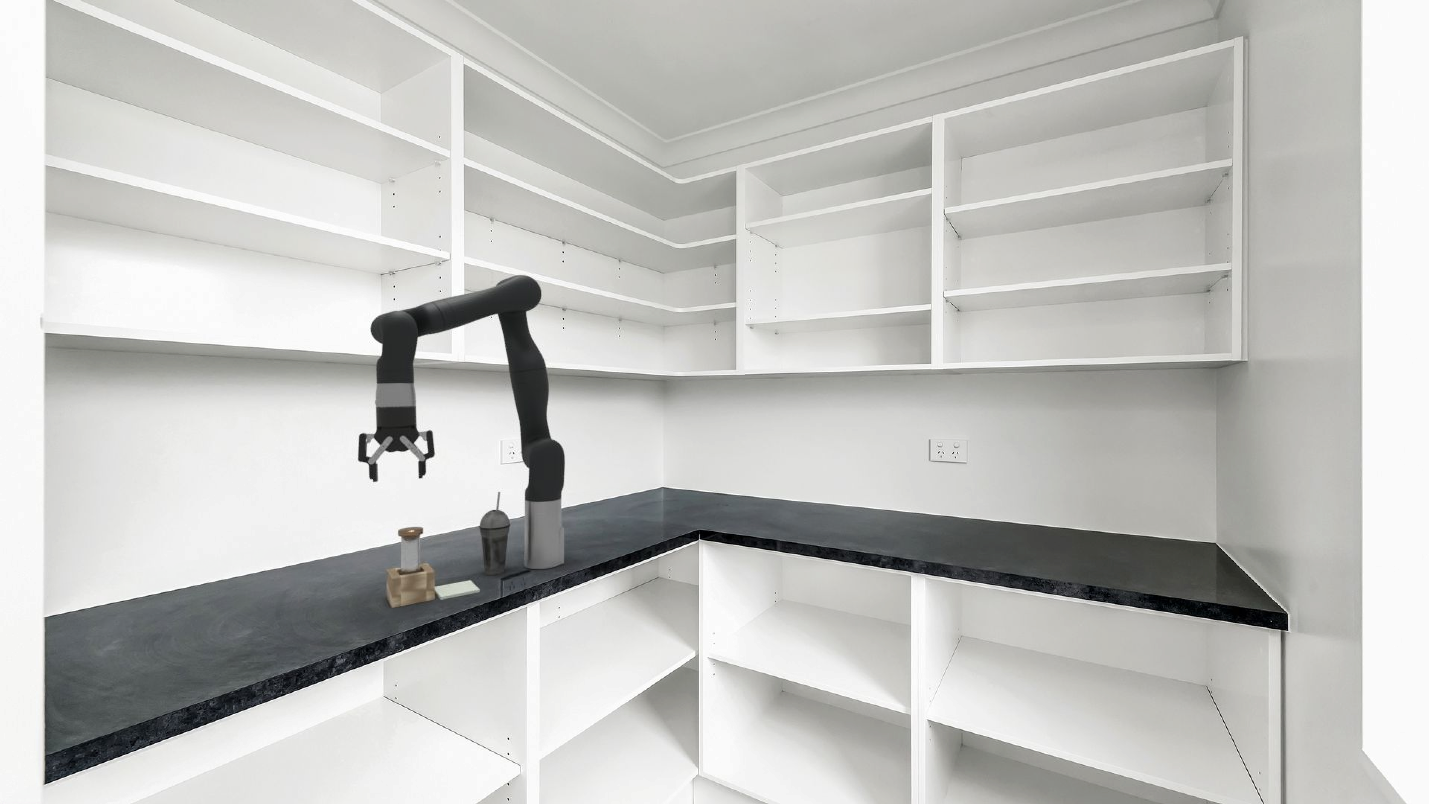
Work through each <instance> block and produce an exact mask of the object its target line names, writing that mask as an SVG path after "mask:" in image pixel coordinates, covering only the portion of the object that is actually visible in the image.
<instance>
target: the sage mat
mask: <svg viewBox="0 0 1429 804" xmlns="http://www.w3.org/2000/svg"><path fill="white" fill-rule="evenodd" d="M480 591H481V589H480V588H479V587H478V586H477V585H476V584H475V583H474V582H473V581H472V580H464V581H460V582H459V581H458V582H454V583H449V584H443V585H437V586H436V585H435V595H437V597H438V599H439V600H441V601H442V600H448V599H451V598H457V597H462V596H466V595H467V596H468V595H472V594H477V593H480Z"/></svg>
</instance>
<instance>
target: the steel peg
mask: <svg viewBox="0 0 1429 804" xmlns="http://www.w3.org/2000/svg"><path fill="white" fill-rule="evenodd" d="M422 534H424V527H422V526H409V527H403V528H400V529H398V530H397V536H398V537H400V541H401V542H400V549H401V550H400V552H401V553H400V564H401V565H400V567H401V575H406V574H412V573H418V572H420V564H421V535H422Z"/></svg>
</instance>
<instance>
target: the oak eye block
mask: <svg viewBox="0 0 1429 804" xmlns="http://www.w3.org/2000/svg"><path fill="white" fill-rule="evenodd" d="M435 576H436V571H435V570H434V569H433V568H432V567H431V565H430V564H429V563H428V562H426V563H425V562H424V563H420V572H418V573H412V574H406V575H401V566H400V567H395V568H389V569H388V568H387V569H386V599H387V601H388V603H389V605H390V607H391V608H393V609H394V608H399V607H404V606H408V605H414V604H419V603H423V602H424V603H425V602H429V601H435V599H436V596H435V595H436V593H435V587H436V583H435V581H436V577H435Z"/></svg>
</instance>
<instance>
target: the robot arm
mask: <svg viewBox="0 0 1429 804" xmlns="http://www.w3.org/2000/svg"><path fill="white" fill-rule="evenodd" d="M541 300H542V288H541V287H540V284H539V283H538V281H536V279H535V278H533V277H531V276H529V275H525V274H517V275H516V274H515V275H513V276H510V277H508V278H507V277H506V278H504V279H502V280H499V282H497V284H496V285H495V286H493V287H489V288H485V289H482V290H478V291H474V292H469V293H463V294H460V295H454V296H450V297H445V298H441V299H437V300H433V301H429V302H425V303H422V304H420V305H417V306H415V307H410V308H406V309H401V310H393V311H388V312H386V313H381V314H379V315H377V317H375V318H374V319H373V320H372V322H371V325H370V335H371V336H372V338H373V339H374V340H375V341H376V342H378V343H379V344H381V345H382V348H381V355H380V357H378V359H377V361H376V368H375V371H376V374H375V375H376V389H375V400H374V403H375V417H376V418H375V419H376V421H375V423H376V424H375V425H376V426H375V427H376V431H375V432H374V433H366V432H362V433H360V434H359V435H358V447H357V448H358V450H357V462H360V463H365V464H367V465H368V477H369V480H372V482H373V483H377V482H378V481H379V472H378V471H379V469H378V467H379V466H378V463H377V461H378V460H379V459H380V457H381V456H382V455H383V454H384V452H388V453H395V452H401V453H402V452H408V451H410V452H411V453H412V454H413V455H414V456H415V457H416V458H417V459H418V461H417V464H418V465H417V466H418V468H417V469H418V471H417V472H418V479H423V478H424V477H423V476H426V474H427V461H428V460H429V459H432V458H434V457H435V454H436V453H435V443H434V442H435V441H434V432H433V430H431V429H429V430H426V431H419V430H418V428H417V427H418V426H417V425H418V424H417V423H418V422H417V396H416V389H415V371H414V370H415V369H414V361H415V358H416V353H417V346H418V338H421V337H422V336H428V335H433V334H434V335H435V334H439V333H443V332H446V331H447V332H448V331H450V330H453V329H457V328H460V327H463V326H465V325H468V324H471V323H473V322H475V321H476V322H477V321H479V320H482V319H484V318H488V317H491V316H493V315H494V316H495V315H497V316H498V319H499V324H500V327H501V331H502V335H503V342H504V346H505V353H506V358H507V362H508V364H507V365H508V372H509V377H510V383H511V389H512V393H513V398H514V405H515V408H516V412H517V418H518V421H519V428H520V429H519V431H520V448H521V449H520V450H521V451H520V452H521V458H522V462H523V464H524V465H525V466H526V468H528V482H527V487H526V488H525V490H524V558H523V559H524V567H525V568H527V569H532V570H544V569H545V570H546V569H551V568H552V569H553V568H555V567H558V566H560V565H563V564H565V528H564V526H562V492H563V490H564V486H565V470H566V469H565V467H566V465H565V464H566V457H565V456H566V455H565V449H564V448H563V446H562V445H561V443H560V442H558V441H557V440H555V439H552V437H551V433H550V429H549V423H548V403H549V396H550V395H549V393H550V385H549V383H550V382H549V377H548V371H547V365H546V361H545V359H544V357H543V354H542V352H541V351H540V349H539V347H538V345H537V344H536V343H535V340H534V339H533V337H532V335H531V333H530V328H529V324H528V317H527V315H528V314H527V312H530V311H532V310H533V309H535V308H536V307H537V306H538V305H539V304H540V302H541ZM420 437H421V438H422V440H423V441H424V442H426V446H427V452H426V453H423V452H422V450H421V449H420V447H418V446H417V445H416V442H417V440H418V439H419V438H420ZM373 439H374V440H375V442H377V444H378V445H379V447H378V448H377V449H376V450H375V451H374V453H373V454H372V456H367V453H368V452H367V451H368V450H367V449H368V444H370V443H371V441H372V440H373Z"/></svg>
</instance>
